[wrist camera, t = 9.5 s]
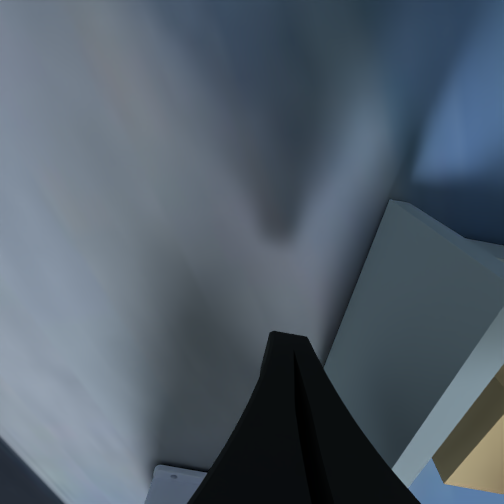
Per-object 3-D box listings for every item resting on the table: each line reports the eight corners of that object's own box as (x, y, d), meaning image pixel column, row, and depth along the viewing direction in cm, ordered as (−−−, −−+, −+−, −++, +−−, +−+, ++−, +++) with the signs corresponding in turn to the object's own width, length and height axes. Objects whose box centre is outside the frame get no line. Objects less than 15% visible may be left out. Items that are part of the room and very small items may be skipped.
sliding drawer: (316, 386, 16) (341, 543, 10) (389, 199, 11) (515, 288, 6) (496, 418, 16) (623, 591, 10) (642, 247, 12) (1034, 385, 6)
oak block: (390, 369, 15) (443, 483, 10) (428, 299, 13) (515, 400, 8) (475, 384, 15) (565, 505, 10) (525, 317, 13) (664, 428, 8)
